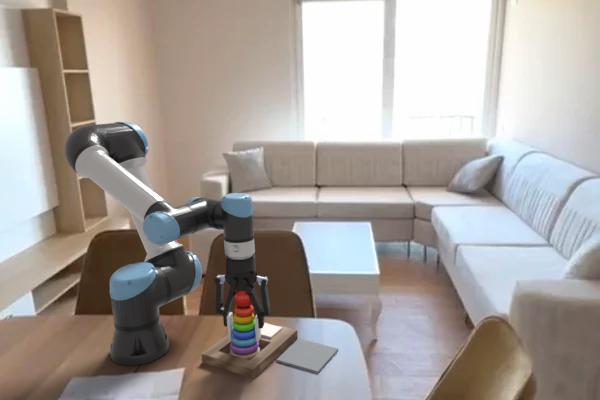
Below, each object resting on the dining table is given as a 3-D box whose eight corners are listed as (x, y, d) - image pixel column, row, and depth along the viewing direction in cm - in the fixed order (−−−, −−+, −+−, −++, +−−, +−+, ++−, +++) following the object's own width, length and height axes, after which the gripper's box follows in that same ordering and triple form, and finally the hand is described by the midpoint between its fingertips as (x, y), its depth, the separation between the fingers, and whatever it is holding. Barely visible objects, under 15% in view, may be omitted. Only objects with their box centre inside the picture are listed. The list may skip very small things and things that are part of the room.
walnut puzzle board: (202, 362, 128) (201, 351, 127) (250, 326, 147) (250, 316, 146) (253, 378, 120) (252, 367, 120) (297, 338, 139) (297, 328, 138)
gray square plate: (276, 361, 128) (276, 359, 127) (298, 340, 138) (298, 338, 138) (317, 373, 122) (317, 371, 122) (338, 350, 132) (338, 348, 132)
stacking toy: (255, 364, 126) (252, 296, 122) (225, 361, 128) (221, 294, 124) (263, 348, 134) (260, 284, 130) (235, 346, 136) (231, 282, 131)
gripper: (197, 258, 123) (203, 343, 128) (275, 261, 119) (278, 347, 125) (207, 248, 130) (213, 329, 135) (281, 251, 127) (284, 332, 132)
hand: (244, 337), depth 130 cm, fingers closed on stacking toy, 7 cm apart
